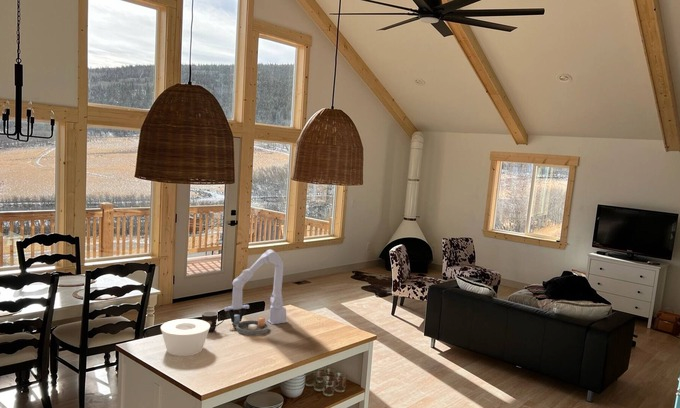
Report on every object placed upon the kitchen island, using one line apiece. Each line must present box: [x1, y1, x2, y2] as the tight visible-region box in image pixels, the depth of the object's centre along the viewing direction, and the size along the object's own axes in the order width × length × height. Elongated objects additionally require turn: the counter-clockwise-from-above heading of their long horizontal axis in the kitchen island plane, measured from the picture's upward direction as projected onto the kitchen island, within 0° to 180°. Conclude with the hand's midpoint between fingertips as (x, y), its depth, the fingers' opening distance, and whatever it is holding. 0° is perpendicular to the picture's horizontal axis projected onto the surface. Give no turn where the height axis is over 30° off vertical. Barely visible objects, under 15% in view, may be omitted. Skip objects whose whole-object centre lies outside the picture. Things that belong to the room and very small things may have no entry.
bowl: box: [160, 318, 210, 357], centre depth 261 cm, size 24×24×12 cm
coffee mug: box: [201, 310, 225, 334], centre depth 288 cm, size 12×9×10 cm
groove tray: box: [235, 320, 270, 337], centre depth 295 cm, size 18×18×2 cm
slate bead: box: [232, 314, 240, 326], centre depth 303 cm, size 4×4×5 cm
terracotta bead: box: [257, 317, 266, 328], centre depth 297 cm, size 4×4×5 cm
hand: (236, 321), depth 303 cm, fingers closed on slate bead, 4 cm apart
